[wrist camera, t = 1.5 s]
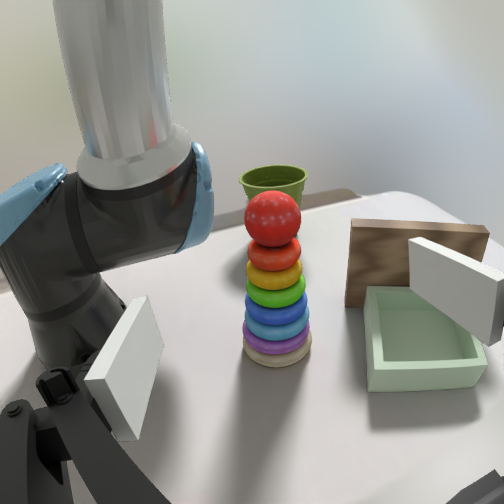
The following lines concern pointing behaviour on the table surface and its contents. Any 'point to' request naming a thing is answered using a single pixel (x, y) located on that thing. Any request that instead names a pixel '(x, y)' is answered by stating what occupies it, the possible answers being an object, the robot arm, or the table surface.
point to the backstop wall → (400, 251)
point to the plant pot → (275, 181)
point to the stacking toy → (275, 283)
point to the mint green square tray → (416, 344)
